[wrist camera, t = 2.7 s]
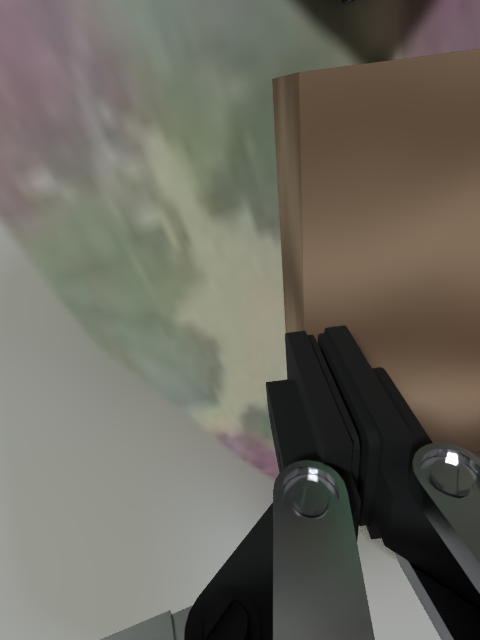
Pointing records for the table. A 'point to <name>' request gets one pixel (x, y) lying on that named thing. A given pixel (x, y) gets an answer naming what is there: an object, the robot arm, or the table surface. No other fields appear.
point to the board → (389, 223)
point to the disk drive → (347, 1)
